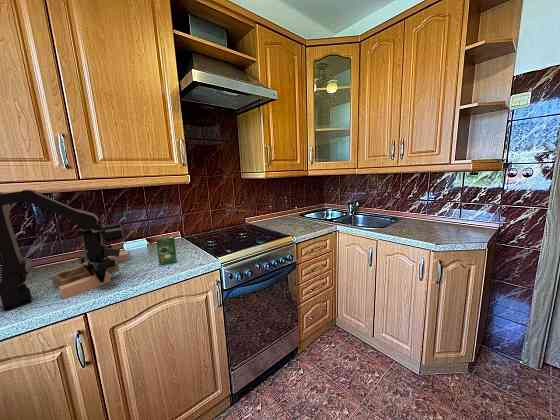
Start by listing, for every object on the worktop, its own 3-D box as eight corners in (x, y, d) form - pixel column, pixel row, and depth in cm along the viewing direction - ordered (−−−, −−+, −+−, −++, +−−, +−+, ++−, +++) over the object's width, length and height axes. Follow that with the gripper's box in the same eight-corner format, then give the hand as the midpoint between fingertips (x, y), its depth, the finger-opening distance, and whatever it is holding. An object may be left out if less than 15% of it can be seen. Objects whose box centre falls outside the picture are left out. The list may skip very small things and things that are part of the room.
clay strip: (64, 299, 84) (62, 289, 83) (60, 297, 86) (58, 287, 85) (110, 281, 97) (109, 272, 96) (106, 279, 98) (105, 271, 98)
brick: (130, 256, 127) (129, 248, 126) (130, 261, 120) (128, 252, 119) (92, 264, 119) (91, 255, 118) (89, 269, 112) (87, 260, 111)
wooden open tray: (63, 290, 91) (61, 281, 90) (53, 284, 96) (50, 275, 96) (119, 270, 108) (118, 262, 107) (107, 266, 113) (106, 258, 113)
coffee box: (177, 260, 117) (174, 235, 115) (177, 262, 114) (173, 237, 112) (160, 263, 114) (156, 237, 112) (159, 265, 112) (155, 239, 109)
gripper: (126, 241, 94) (132, 277, 97) (105, 236, 104) (111, 269, 106) (94, 250, 85) (102, 289, 87) (73, 244, 94) (81, 279, 97)
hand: (100, 281), depth 95 cm, fingers closed on clay strip, 3 cm apart
